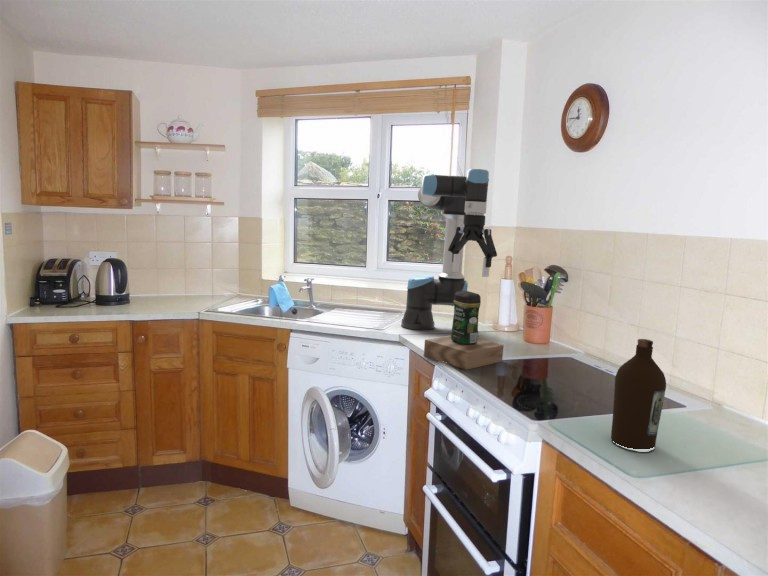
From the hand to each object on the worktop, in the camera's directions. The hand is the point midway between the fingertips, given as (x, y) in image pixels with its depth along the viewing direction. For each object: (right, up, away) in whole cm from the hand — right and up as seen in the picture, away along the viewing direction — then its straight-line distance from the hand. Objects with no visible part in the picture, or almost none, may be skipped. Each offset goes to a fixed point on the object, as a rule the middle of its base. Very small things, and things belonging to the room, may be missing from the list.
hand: (470, 274), depth 189 cm
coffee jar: (-2, -25, +2) cm, 25 cm away
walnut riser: (-2, -30, +2) cm, 31 cm away
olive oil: (+27, -42, -65) cm, 82 cm away
